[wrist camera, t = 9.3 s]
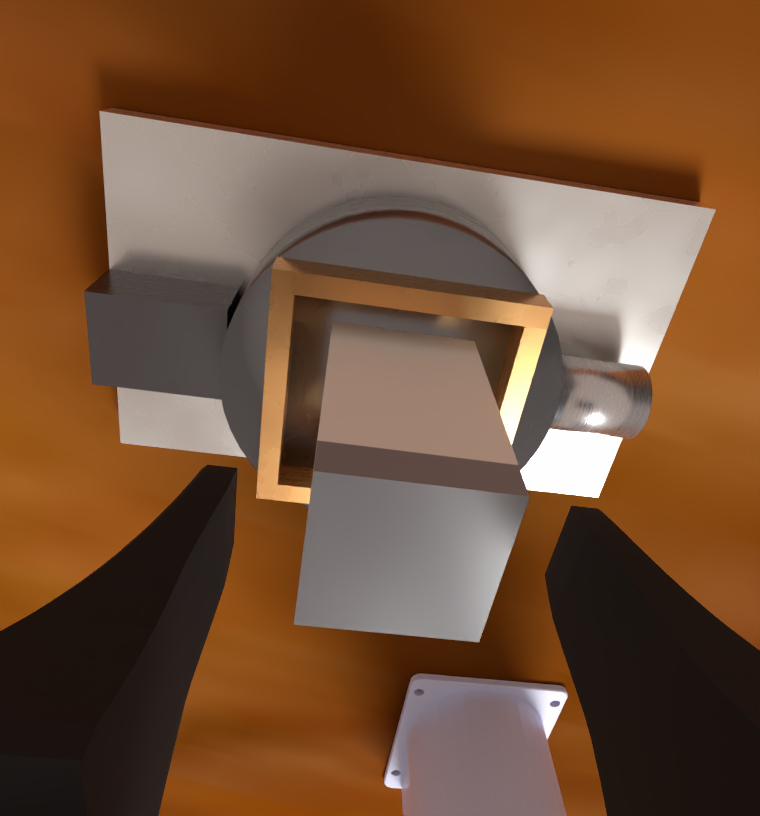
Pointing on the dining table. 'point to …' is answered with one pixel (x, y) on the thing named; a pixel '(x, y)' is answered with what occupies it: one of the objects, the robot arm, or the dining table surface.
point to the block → (408, 489)
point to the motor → (371, 291)
